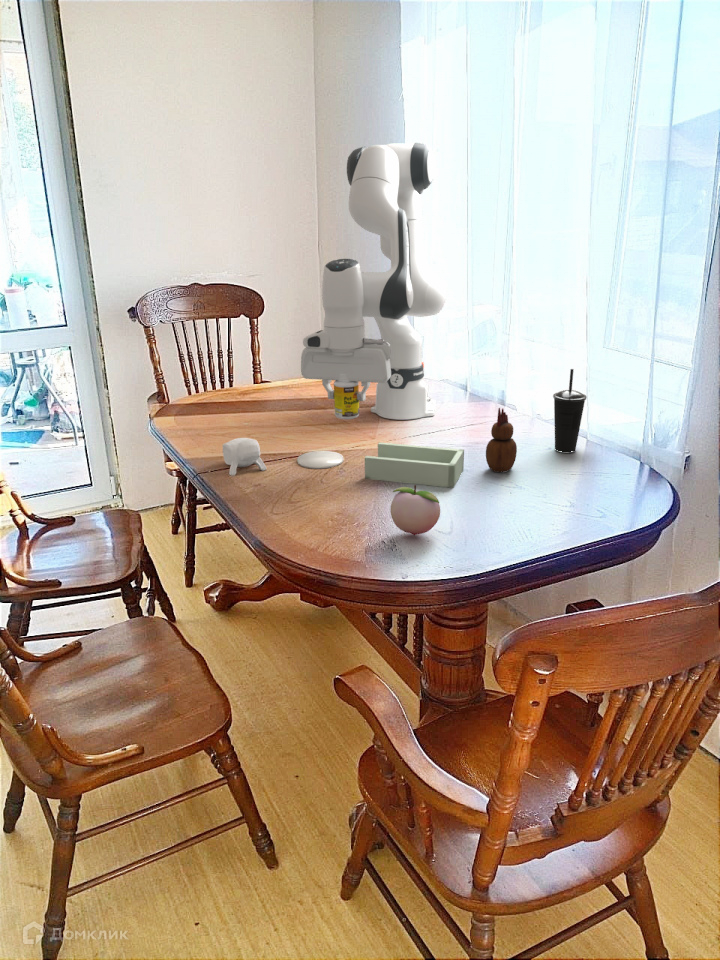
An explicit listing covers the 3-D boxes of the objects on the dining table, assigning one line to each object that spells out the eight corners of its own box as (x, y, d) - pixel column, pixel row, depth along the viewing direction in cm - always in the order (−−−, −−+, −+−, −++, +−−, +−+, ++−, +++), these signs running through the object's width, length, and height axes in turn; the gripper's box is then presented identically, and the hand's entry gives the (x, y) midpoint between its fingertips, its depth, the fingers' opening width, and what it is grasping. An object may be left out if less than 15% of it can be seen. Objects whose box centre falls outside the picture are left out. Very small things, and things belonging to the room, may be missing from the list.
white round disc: (307, 451, 182) (307, 449, 181) (349, 455, 178) (349, 453, 178) (290, 466, 172) (289, 463, 172) (334, 470, 169) (333, 468, 168)
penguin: (223, 477, 174) (236, 474, 160) (216, 442, 174) (229, 436, 160) (257, 472, 178) (273, 468, 164) (251, 437, 177) (267, 430, 163)
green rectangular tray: (379, 462, 173) (379, 442, 171) (463, 470, 167) (464, 449, 165) (364, 478, 163) (364, 457, 161) (453, 487, 157) (454, 465, 155)
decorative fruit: (383, 541, 133) (382, 491, 130) (397, 524, 140) (396, 475, 137) (432, 549, 130) (433, 497, 127) (444, 530, 137) (445, 480, 134)
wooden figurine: (496, 476, 163) (499, 411, 157) (480, 468, 168) (483, 405, 162) (520, 471, 166) (524, 407, 160) (504, 463, 170) (507, 401, 165)
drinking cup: (583, 447, 180) (591, 367, 173) (578, 456, 174) (586, 373, 167) (552, 443, 183) (558, 364, 176) (546, 453, 177) (552, 371, 170)
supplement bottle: (343, 421, 162) (341, 376, 158) (330, 416, 166) (328, 371, 163) (364, 417, 165) (363, 372, 161) (350, 411, 169) (349, 367, 165)
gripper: (394, 336, 159) (395, 398, 164) (307, 333, 165) (310, 393, 170) (386, 342, 153) (387, 406, 158) (296, 339, 159) (299, 400, 165)
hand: (346, 399), depth 164 cm, fingers closed on supplement bottle, 5 cm apart
